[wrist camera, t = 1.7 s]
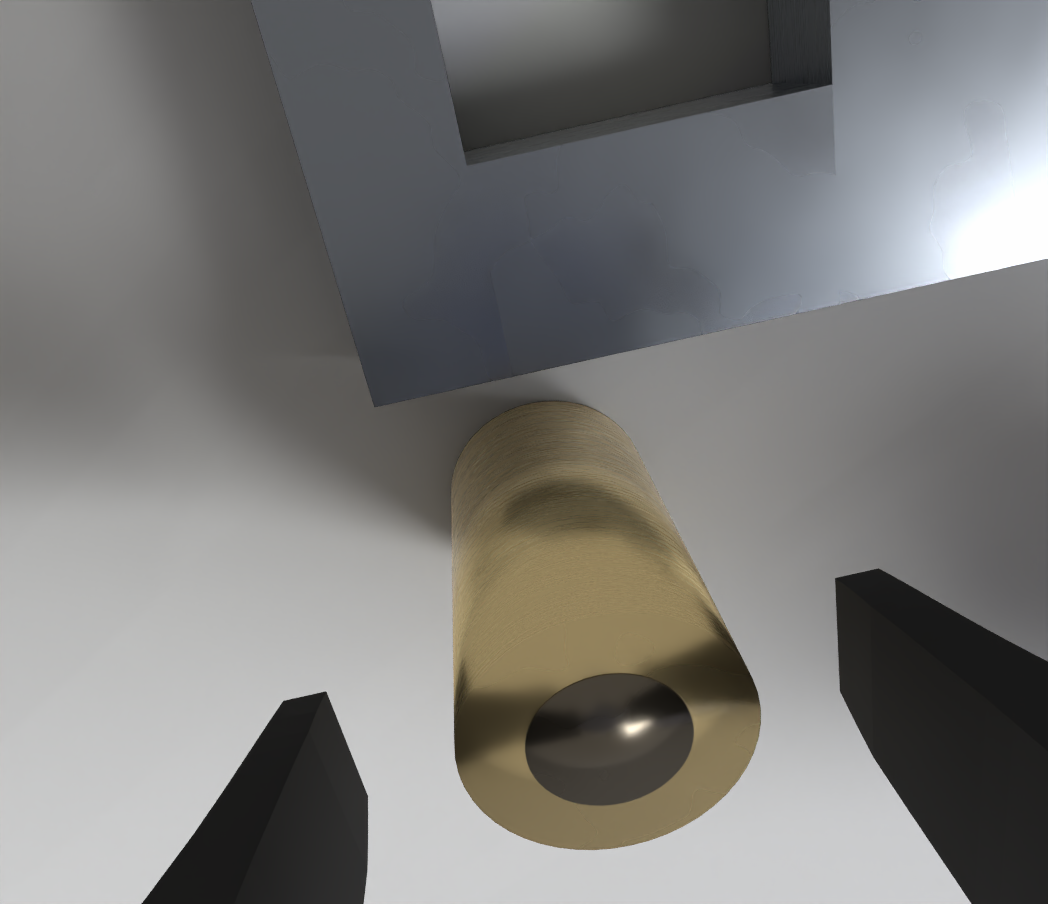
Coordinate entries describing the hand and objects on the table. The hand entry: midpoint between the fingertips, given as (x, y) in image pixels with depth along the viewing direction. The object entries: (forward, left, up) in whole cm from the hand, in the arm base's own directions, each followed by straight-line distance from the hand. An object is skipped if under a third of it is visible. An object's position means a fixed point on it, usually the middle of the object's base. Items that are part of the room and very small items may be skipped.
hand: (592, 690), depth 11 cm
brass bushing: (0, 0, -6) cm, 6 cm away
